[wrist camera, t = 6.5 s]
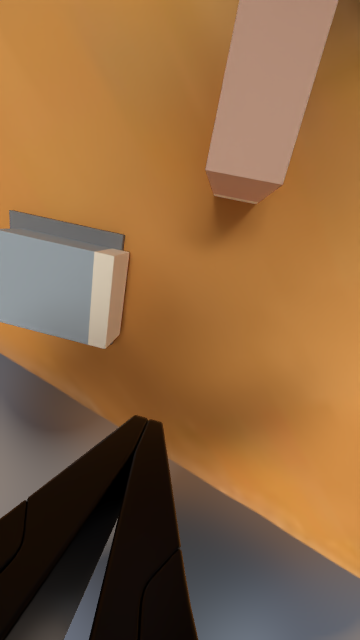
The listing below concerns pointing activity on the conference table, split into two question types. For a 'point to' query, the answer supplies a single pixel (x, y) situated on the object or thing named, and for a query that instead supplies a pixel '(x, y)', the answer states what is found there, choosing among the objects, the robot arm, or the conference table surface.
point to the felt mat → (66, 230)
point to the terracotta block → (265, 94)
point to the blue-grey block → (62, 286)
